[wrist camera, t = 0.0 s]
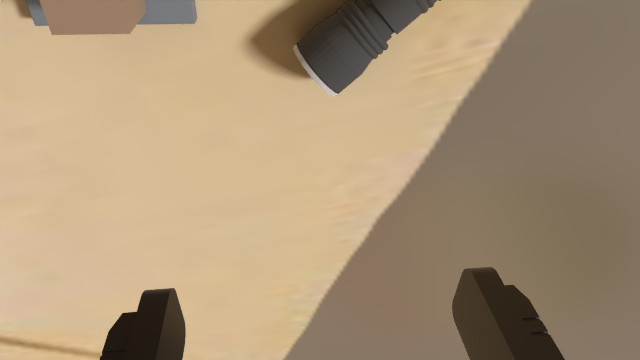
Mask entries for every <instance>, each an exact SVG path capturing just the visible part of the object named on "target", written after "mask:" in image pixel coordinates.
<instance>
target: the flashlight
mask: <svg viewBox="0 0 640 360" xmlns="http://www.w3.org/2000/svg"><path fill="white" fill-rule="evenodd" d="M436 1H437V0H357V1H356V2H354V1H353V0H348V1H347V4H343V6H342V8H339V9H338V10H337V13H336V14H334V15H332V16H330V17H329V18H327V19H325V20H323V21H321V22H319V23H318V24H317V25H316V26H315V27H314V28H313V29H312V30H311V31H310V32H309V33H308V34H307V35H306V36H305V37H303V38H302V39H301V40H300V41H299V42H298V43H297V44H296V45H295V46H294V47H293V50H294V52H295V55H296V57H297V58H298V60H299V62H300V63H301V65H302V66H303V67H304V69H305V70H306V71H307V72H308V74H309V75H310V76H311V77H312V79H313V80H314V81H315V82H316V83H317V84H318V85H319V86H320V87H321V88H322V89H323V90H324V91H325V92H326V93H328V94H329V95H331V96H333V97H335V96H336V95H338V94H339V93H340V92H341V91H342V90H343V89H345V88H346V87H347V86H348V85H349V84H351V83H352V82H353V81H354V80H355V79H357V78H358V77H359V76H360V75H361V74H362V73H363V72H364V70H365V69H366V68H367V66H368V65H369V63H370V62H371V61H372V59H376V58H377V57H378V54H382V53H383V50H387V48H388V44H387V43H386V41H388V40H389V39H390V38H391V35H392V34H393V33H394V32H395V33H396V34H398V33H399V32H401V31H402V30H403V29H404V28H405V27H406V26H408V25H409V24H410V23H411V22H412V21H413V20H415V19H416V18H417V17H418V16H419V15H421V14H422V13H426V12H427V11H428V8H431V7H433V6H434V3H435V2H436ZM439 1H441V0H439Z"/></svg>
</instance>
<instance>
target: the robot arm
mask: <svg viewBox="0 0 640 360" xmlns="http://www.w3.org/2000/svg"><path fill="white" fill-rule="evenodd" d="M452 311H453V317H454V321H455V324H456V326H457V329H458V331H459V334H460V336H461V338H462V341H463V343H464V346H465V348H466V351H467V353H468V356H469V358H470V360H565V359H564V358H563V356H562V354H561V353H560V351H559V349H558V348H557V346H556V344H555V343H554V341H553V339H552V338H551V336H550V335H548V331H547V329H546V327H545V326H544V324H543V322H542V321H540V320H539V316H538V314H537V312H536V310H535V309H534V307H533V306H532V304H531V302H530V300H529V299H528V298H527V297H526V296H525V295H523V294H522V293H521V292H520V291H519V290H518V289H517V288H516V287H515V286H514V285H506V286H504V284H503V282H502V280H501V278H500V277H499V275H498V273H497V271H496V270H495V269H494V268H492V267H483V268H471V269H470V268H469V269H464V271H463V272H462V275H461V278H460V281H459V284H458V287H457V290H456V293H455V296H454V299H453V304H452ZM184 346H185V321H184V318H183V314H182V311H181V307H180V304H179V301H178V297H177V294H176V291H175V289H174V288H170V289H156V290H145V291H144V292H143V293H142V296H141V299H140V303H139V306H138V310H137V312H130V313H123V314H122V315H121V316H120V317H119V319H118V320H117V321H116V323H115V324H114V325H113V327H112V328H111V329H110V331H109V332H108V335H107V339H106V342H105V345H104V348H103V351H102V356H101V357H100V360H182V358H183V352H184Z"/></svg>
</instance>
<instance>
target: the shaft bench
mask: <svg viewBox="0 0 640 360" xmlns="http://www.w3.org/2000/svg"><path fill="white" fill-rule="evenodd" d="M26 3H27V6H28V8H29V11H30V13H31V16H32V19H33V21H34V24H35V26H49V28H50V31H51V34H52V35H73V34H130V33H131V31H132V30H133V29H134V27H135V26H136V25H137V24H195V22H196V20H197V13H196V7H195V0H26Z"/></svg>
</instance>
